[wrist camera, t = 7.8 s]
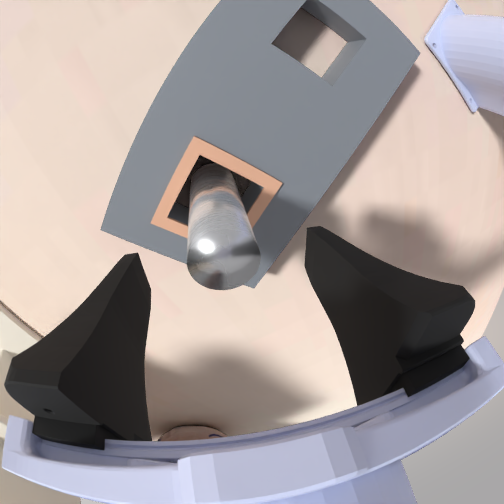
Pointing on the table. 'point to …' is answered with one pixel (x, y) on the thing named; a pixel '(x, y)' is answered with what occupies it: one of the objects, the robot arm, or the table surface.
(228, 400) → the table surface
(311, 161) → the dock plate
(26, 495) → the desk organizer
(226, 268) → the steel pin
